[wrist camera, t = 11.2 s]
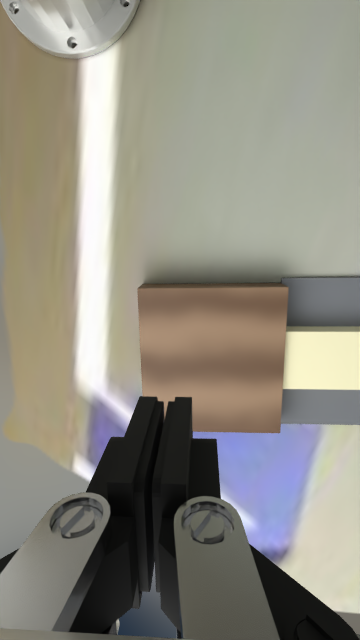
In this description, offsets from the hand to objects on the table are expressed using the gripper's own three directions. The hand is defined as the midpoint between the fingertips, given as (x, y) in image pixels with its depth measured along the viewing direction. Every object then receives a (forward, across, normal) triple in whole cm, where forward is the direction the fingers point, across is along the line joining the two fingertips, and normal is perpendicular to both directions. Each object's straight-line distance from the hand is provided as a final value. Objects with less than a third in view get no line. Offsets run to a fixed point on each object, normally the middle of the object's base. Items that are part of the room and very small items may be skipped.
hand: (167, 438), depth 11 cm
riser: (+25, -2, +6) cm, 26 cm away
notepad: (+25, -14, +6) cm, 29 cm away
